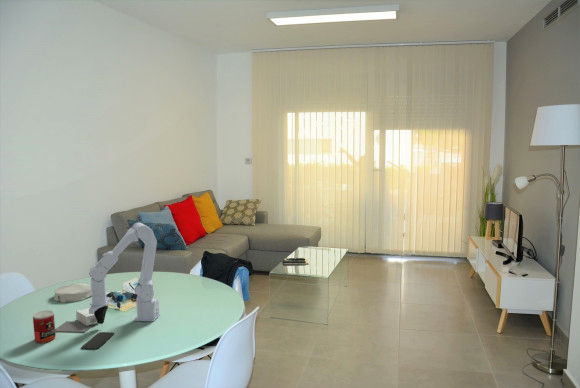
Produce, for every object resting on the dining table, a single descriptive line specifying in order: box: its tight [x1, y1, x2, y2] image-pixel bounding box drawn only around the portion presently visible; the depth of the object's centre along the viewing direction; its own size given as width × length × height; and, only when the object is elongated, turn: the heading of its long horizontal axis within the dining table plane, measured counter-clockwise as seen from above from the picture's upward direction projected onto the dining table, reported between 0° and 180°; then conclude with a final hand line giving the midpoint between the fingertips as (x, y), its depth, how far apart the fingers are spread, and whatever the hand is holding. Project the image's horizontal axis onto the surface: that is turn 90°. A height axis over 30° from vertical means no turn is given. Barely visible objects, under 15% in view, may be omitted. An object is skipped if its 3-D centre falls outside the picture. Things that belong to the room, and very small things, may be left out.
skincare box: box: [75, 307, 98, 326], centre depth 205 cm, size 6×4×12 cm
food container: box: [53, 283, 92, 303], centre depth 238 cm, size 20×20×7 cm
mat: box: [55, 320, 95, 334], centre depth 199 cm, size 14×10×1 cm
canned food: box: [32, 310, 56, 344], centre depth 187 cm, size 8×8×11 cm
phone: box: [80, 331, 115, 351], centre depth 186 cm, size 7×1×15 cm
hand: (100, 323), depth 198 cm, fingers closed
